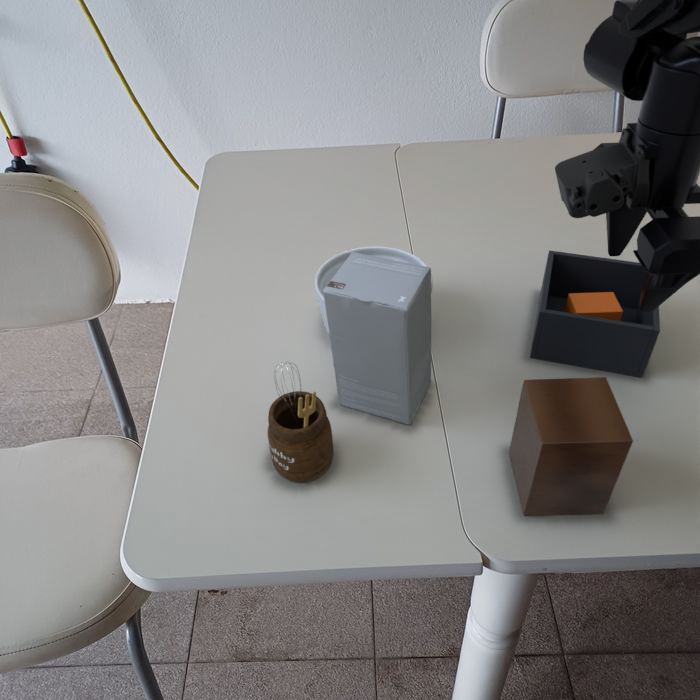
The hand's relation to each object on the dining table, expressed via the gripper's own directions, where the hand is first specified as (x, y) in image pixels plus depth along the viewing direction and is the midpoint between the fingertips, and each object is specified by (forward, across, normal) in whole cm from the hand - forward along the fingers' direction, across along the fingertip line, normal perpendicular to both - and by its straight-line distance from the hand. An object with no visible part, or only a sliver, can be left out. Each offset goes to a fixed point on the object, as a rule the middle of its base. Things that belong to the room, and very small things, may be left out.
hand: (628, 281), depth 62 cm
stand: (+12, +14, -9) cm, 20 cm away
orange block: (+11, -6, 0) cm, 12 cm away
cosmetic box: (+12, +3, -24) cm, 27 cm away
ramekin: (+12, -9, -24) cm, 28 cm away
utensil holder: (+12, +11, -32) cm, 36 cm away
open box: (+12, -6, 0) cm, 13 cm away
